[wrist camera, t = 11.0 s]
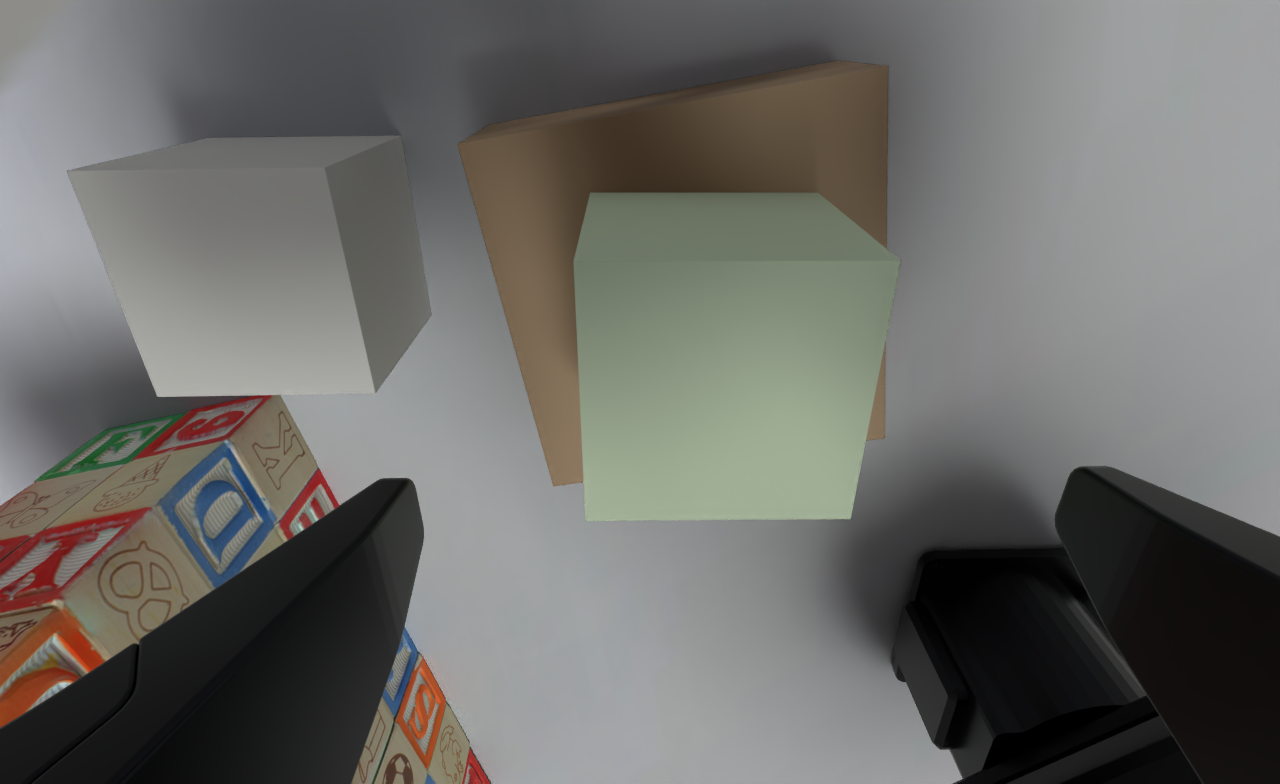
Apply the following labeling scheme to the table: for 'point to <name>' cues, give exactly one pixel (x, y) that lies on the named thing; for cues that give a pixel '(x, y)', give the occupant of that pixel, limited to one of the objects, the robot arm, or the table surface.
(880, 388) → the walnut block
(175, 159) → the grey cube
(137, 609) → the stack of blocks
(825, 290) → the sage cube
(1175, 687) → the robot arm
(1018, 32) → the table surface
